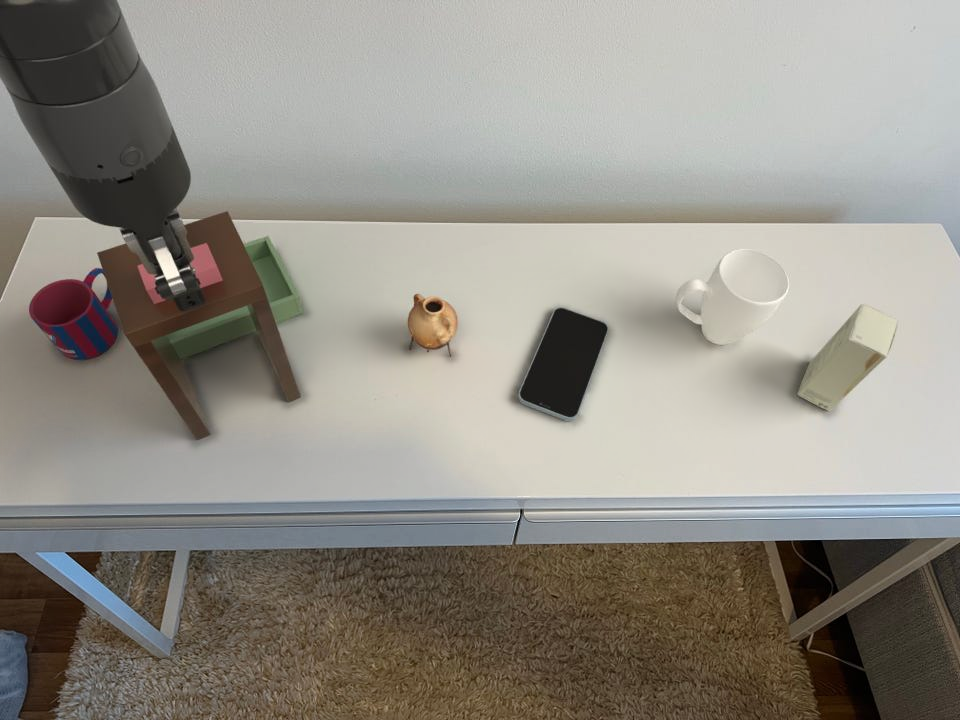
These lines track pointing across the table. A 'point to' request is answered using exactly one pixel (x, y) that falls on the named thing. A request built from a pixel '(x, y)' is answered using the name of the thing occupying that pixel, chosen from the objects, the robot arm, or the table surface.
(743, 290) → the mug
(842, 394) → the cosmetic box
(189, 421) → the walnut stand
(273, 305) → the tray
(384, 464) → the table surface
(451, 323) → the pot
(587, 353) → the smartphone
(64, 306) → the cup
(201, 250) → the eraser
